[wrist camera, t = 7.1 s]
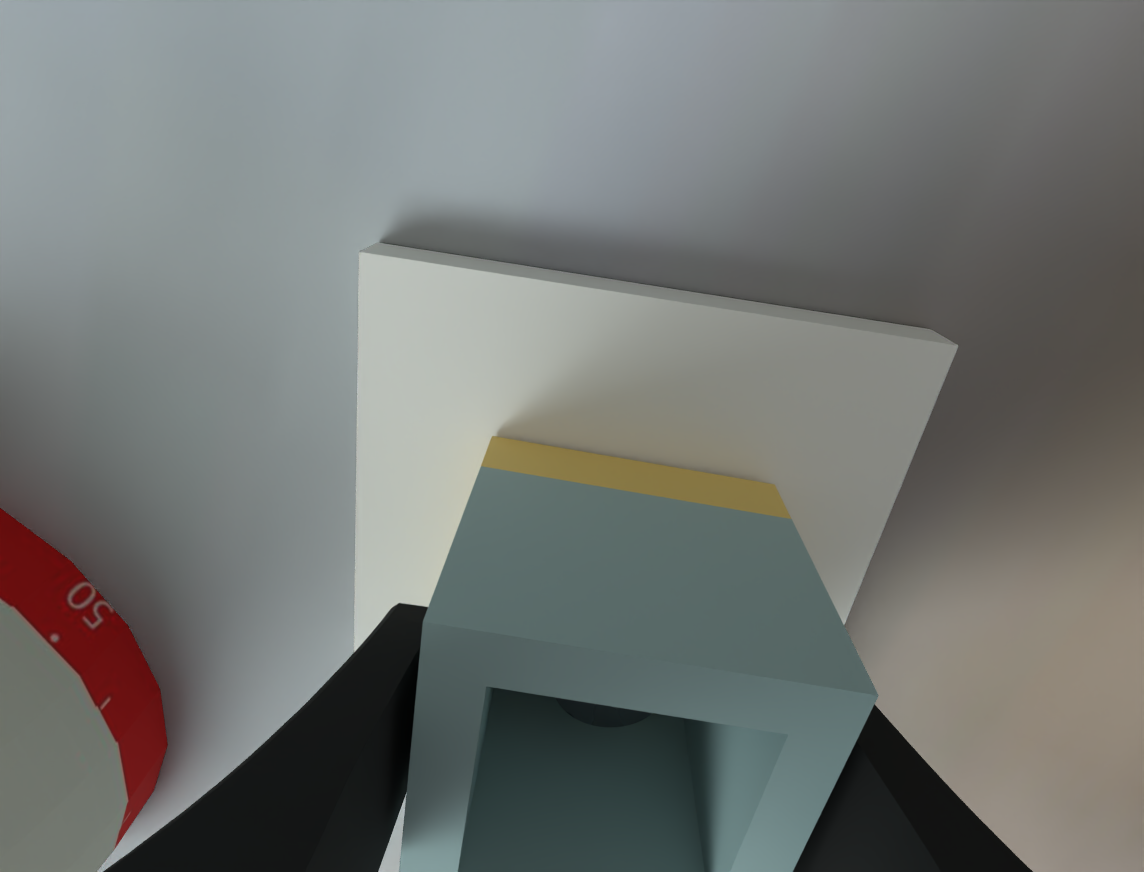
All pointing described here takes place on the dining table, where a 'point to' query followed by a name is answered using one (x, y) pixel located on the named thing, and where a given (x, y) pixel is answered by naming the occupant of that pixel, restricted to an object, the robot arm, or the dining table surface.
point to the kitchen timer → (68, 714)
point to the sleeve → (626, 675)
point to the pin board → (619, 407)
